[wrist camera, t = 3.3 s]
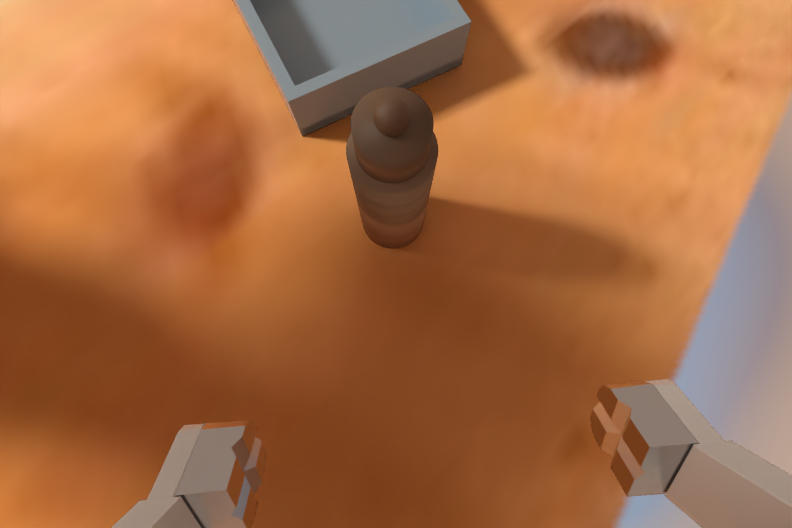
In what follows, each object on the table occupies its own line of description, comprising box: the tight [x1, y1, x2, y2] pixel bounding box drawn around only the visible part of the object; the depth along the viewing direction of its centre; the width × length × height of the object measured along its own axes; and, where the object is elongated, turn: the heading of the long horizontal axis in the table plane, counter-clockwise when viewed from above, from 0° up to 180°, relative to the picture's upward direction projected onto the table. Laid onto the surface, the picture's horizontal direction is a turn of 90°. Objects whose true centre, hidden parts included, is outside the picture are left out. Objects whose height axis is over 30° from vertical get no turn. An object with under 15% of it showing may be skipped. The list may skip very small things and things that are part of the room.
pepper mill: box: [346, 87, 438, 248], centre depth 20 cm, size 4×4×12 cm
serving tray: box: [233, 0, 471, 136], centre depth 27 cm, size 14×13×4 cm
